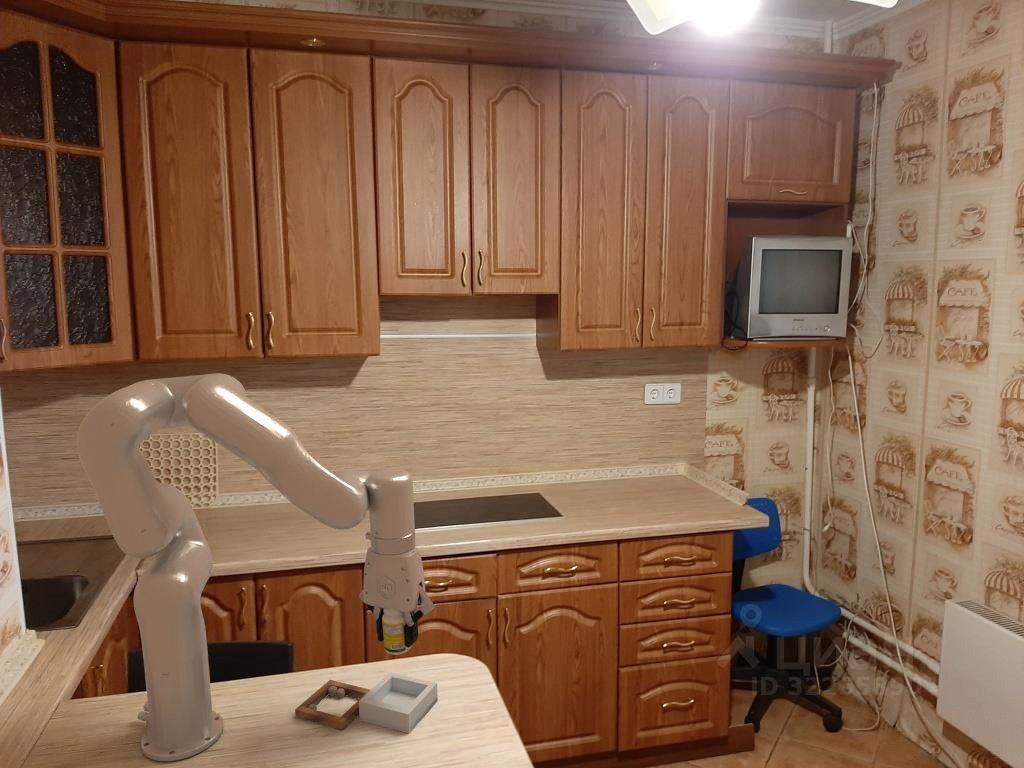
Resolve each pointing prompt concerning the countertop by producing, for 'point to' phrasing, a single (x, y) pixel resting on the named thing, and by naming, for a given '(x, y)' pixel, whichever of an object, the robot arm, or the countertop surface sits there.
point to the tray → (311, 714)
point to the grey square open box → (398, 702)
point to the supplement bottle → (394, 632)
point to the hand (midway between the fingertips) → (397, 639)
